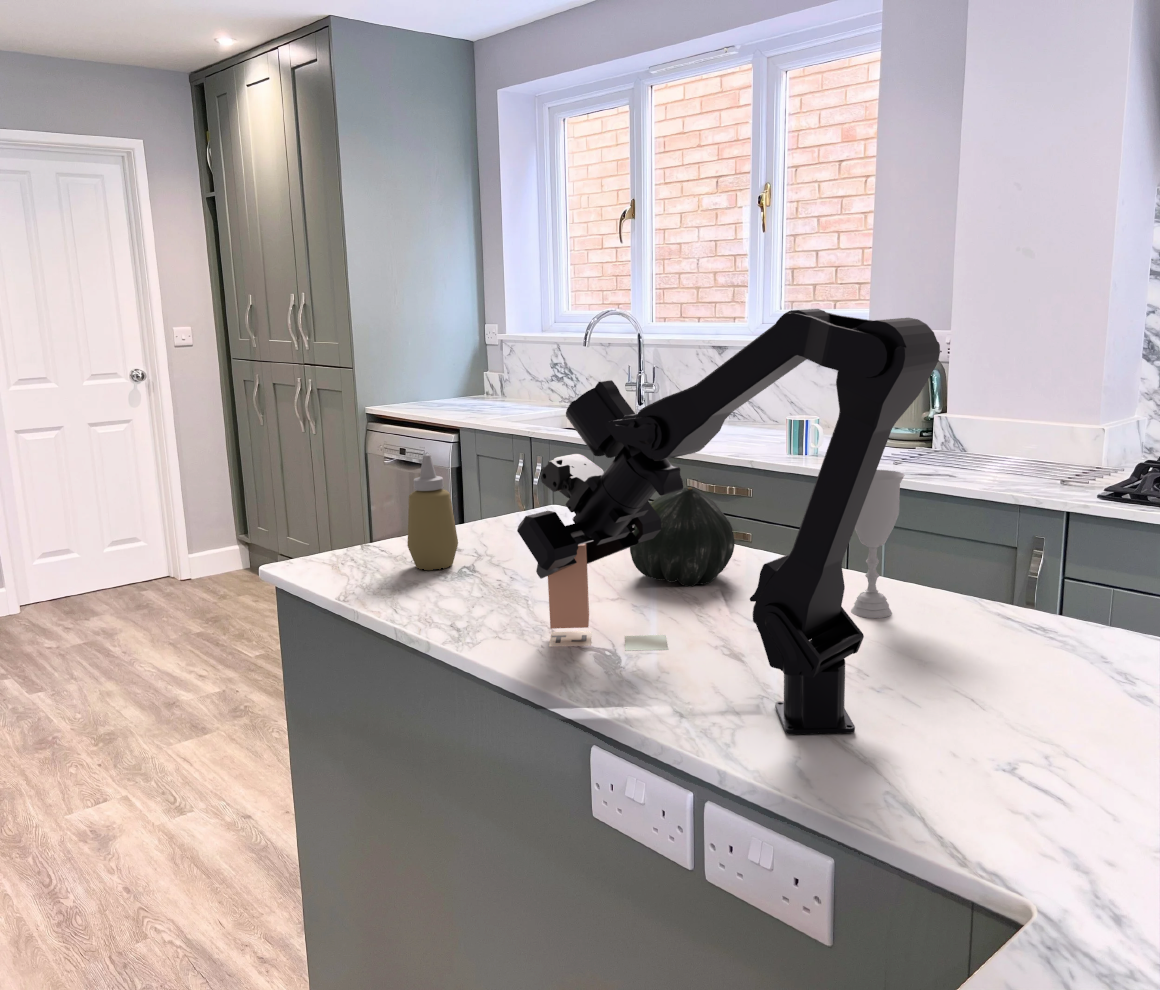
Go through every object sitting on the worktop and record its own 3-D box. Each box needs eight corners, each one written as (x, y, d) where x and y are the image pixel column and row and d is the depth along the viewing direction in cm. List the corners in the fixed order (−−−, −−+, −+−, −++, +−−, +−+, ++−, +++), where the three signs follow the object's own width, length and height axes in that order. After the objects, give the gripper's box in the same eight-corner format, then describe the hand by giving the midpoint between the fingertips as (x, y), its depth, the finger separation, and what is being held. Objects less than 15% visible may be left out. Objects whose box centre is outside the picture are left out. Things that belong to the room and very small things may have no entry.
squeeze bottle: (403, 564, 155) (394, 454, 152) (451, 557, 159) (444, 449, 155) (416, 576, 148) (408, 461, 145) (466, 568, 151) (459, 456, 148)
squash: (646, 526, 151) (633, 467, 140) (741, 532, 147) (736, 473, 136) (630, 604, 143) (616, 548, 132) (731, 613, 139) (724, 556, 128)
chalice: (860, 623, 119) (863, 481, 116) (832, 607, 126) (834, 472, 122) (911, 616, 121) (916, 476, 118) (881, 600, 128) (884, 468, 124)
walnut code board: (669, 659, 110) (668, 652, 110) (547, 662, 110) (547, 655, 110) (665, 635, 118) (665, 629, 118) (551, 638, 118) (551, 631, 118)
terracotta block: (588, 627, 113) (584, 545, 111) (550, 628, 113) (546, 546, 111) (589, 615, 117) (585, 536, 115) (552, 616, 117) (548, 537, 115)
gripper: (640, 423, 114) (578, 503, 124) (523, 444, 101) (465, 531, 111) (693, 495, 110) (625, 572, 120) (579, 525, 97) (514, 608, 107)
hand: (559, 568), depth 115 cm, fingers closed on terracotta block, 6 cm apart
